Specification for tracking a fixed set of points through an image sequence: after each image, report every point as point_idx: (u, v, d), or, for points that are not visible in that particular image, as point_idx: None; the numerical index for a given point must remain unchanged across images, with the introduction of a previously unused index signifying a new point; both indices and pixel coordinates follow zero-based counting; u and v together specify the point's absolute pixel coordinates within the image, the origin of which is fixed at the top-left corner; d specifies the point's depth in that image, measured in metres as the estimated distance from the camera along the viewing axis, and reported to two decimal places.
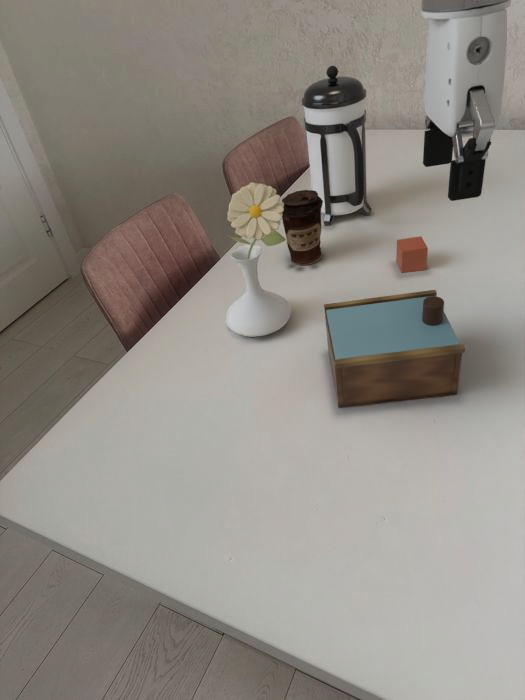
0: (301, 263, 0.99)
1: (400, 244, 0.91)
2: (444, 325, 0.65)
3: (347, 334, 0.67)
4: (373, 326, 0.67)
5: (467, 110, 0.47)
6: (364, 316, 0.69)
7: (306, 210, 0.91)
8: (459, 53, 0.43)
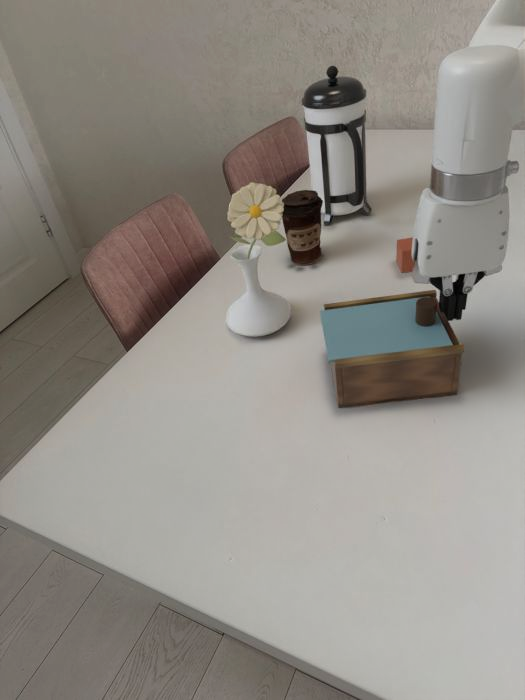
0: (301, 263, 0.99)
1: (400, 244, 0.91)
2: (437, 326, 0.65)
3: (340, 335, 0.67)
4: (366, 327, 0.67)
5: None
6: (357, 317, 0.69)
7: (306, 210, 0.91)
8: None
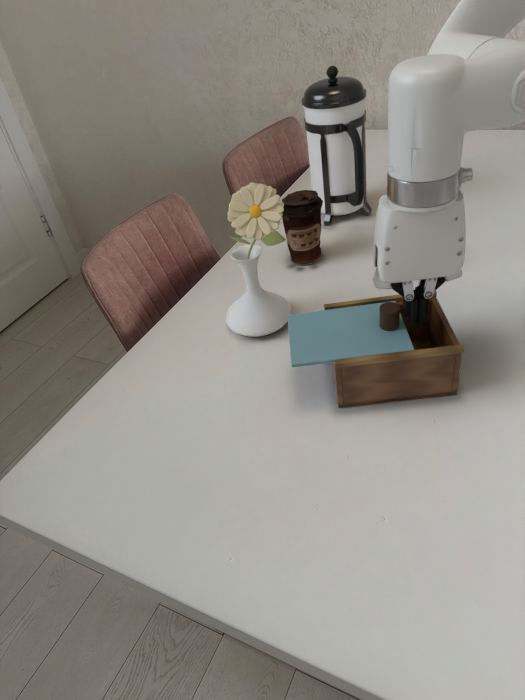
0: (301, 263, 0.99)
1: None
2: (401, 330, 0.66)
3: (305, 339, 0.67)
4: (331, 331, 0.68)
5: None
6: (323, 322, 0.70)
7: (306, 210, 0.91)
8: None
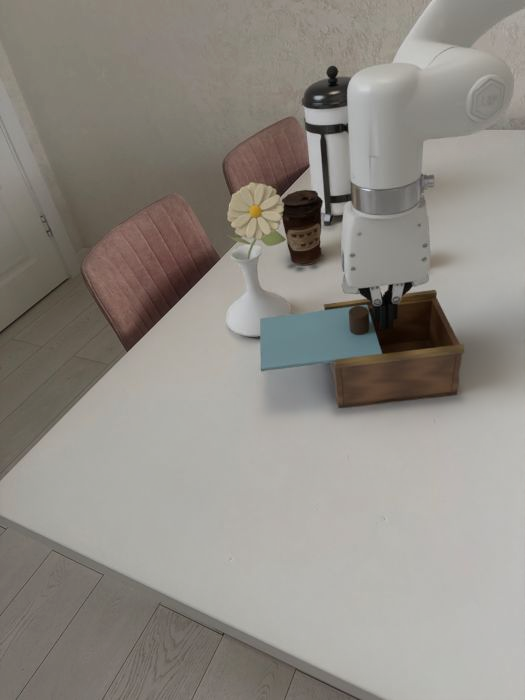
0: (301, 263, 0.99)
1: None
2: (370, 334, 0.66)
3: (275, 343, 0.68)
4: (302, 335, 0.68)
5: None
6: (294, 325, 0.70)
7: (306, 210, 0.91)
8: None
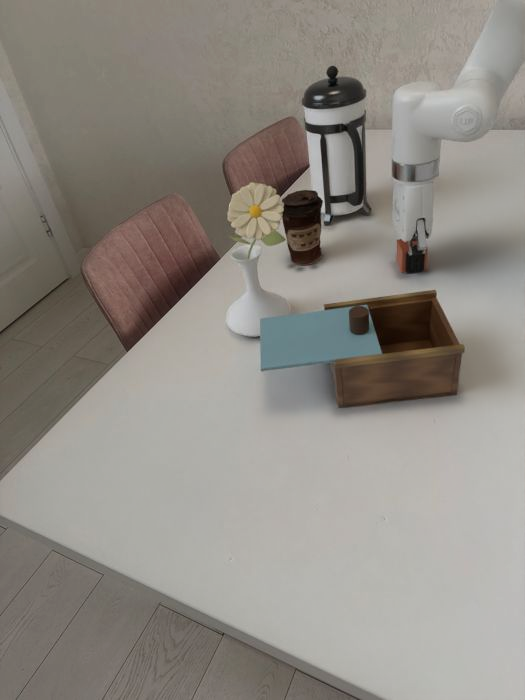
0: (301, 263, 0.99)
1: (400, 244, 0.91)
2: (370, 334, 0.66)
3: (275, 343, 0.68)
4: (302, 335, 0.68)
5: None
6: (294, 325, 0.70)
7: (306, 210, 0.91)
8: None
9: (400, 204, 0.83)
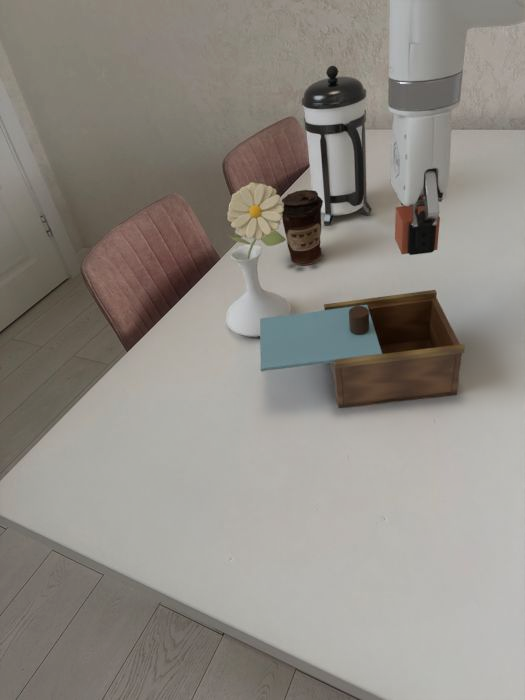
0: (301, 263, 0.99)
1: (400, 213, 0.63)
2: (370, 334, 0.66)
3: (275, 343, 0.68)
4: (302, 335, 0.68)
5: None
6: (294, 325, 0.70)
7: (306, 210, 0.91)
8: None
9: (401, 149, 0.56)
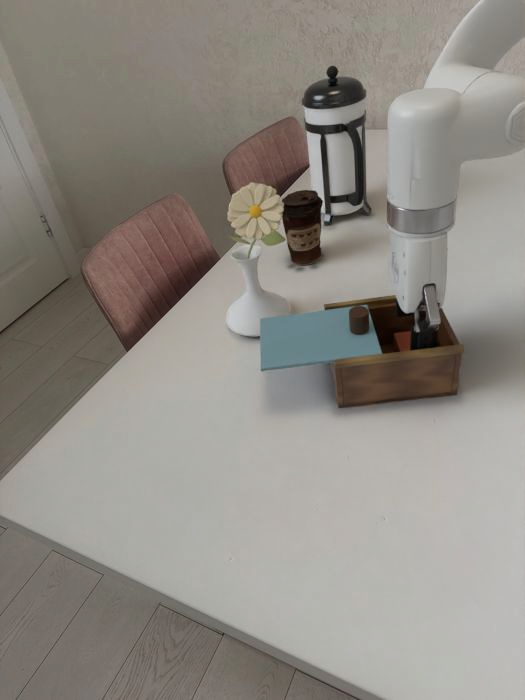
0: (301, 263, 0.99)
1: (398, 341, 0.69)
2: (370, 334, 0.66)
3: (275, 343, 0.68)
4: (302, 335, 0.68)
5: None
6: (294, 325, 0.70)
7: (306, 210, 0.91)
8: None
9: (399, 262, 0.58)
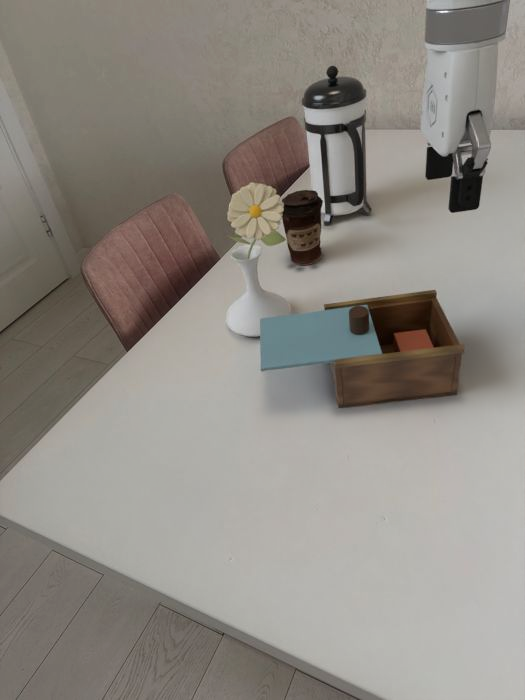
0: (301, 263, 0.99)
1: (398, 341, 0.69)
2: (370, 334, 0.66)
3: (275, 343, 0.68)
4: (302, 335, 0.68)
5: None
6: (294, 325, 0.70)
7: (306, 210, 0.91)
8: None
9: (439, 90, 0.50)
